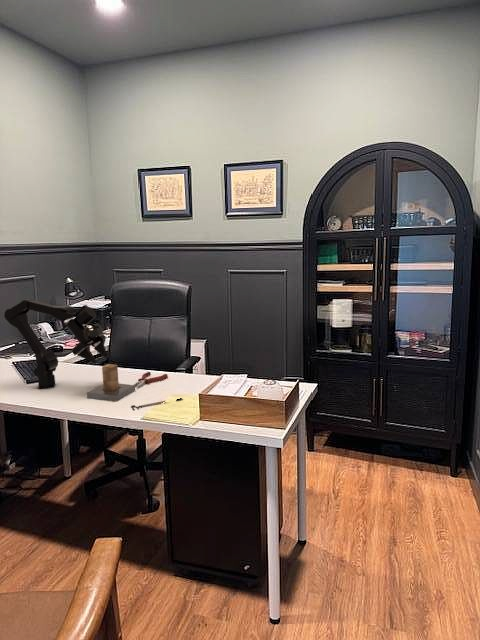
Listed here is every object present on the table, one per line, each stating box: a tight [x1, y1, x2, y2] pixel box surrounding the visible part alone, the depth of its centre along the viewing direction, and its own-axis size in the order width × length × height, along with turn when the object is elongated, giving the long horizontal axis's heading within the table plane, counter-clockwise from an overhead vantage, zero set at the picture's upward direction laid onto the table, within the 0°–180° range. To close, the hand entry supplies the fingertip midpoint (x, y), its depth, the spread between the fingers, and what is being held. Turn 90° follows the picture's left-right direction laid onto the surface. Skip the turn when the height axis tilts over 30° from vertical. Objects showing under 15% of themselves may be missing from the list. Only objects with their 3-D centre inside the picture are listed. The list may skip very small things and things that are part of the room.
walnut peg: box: [101, 363, 120, 392], centre depth 191 cm, size 4×4×12 cm
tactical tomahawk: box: [130, 400, 166, 411], centre depth 178 cm, size 21×7×1 cm, turn 116°
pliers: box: [133, 371, 169, 389], centre depth 207 cm, size 12×20×3 cm, turn 158°
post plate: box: [86, 383, 136, 402], centre depth 191 cm, size 14×14×2 cm
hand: (101, 359), depth 195 cm, fingers open, 9 cm apart
